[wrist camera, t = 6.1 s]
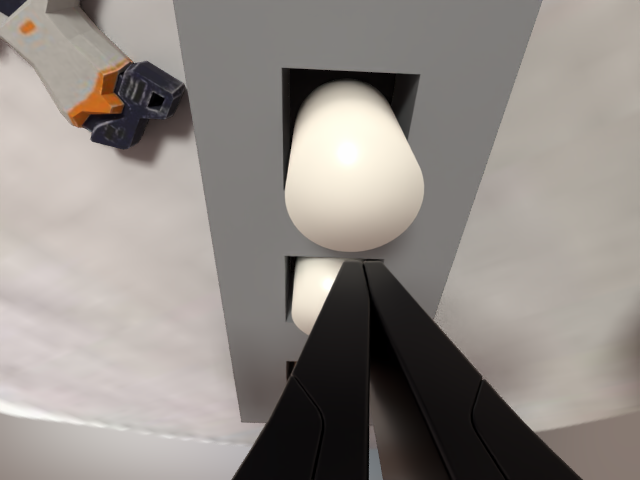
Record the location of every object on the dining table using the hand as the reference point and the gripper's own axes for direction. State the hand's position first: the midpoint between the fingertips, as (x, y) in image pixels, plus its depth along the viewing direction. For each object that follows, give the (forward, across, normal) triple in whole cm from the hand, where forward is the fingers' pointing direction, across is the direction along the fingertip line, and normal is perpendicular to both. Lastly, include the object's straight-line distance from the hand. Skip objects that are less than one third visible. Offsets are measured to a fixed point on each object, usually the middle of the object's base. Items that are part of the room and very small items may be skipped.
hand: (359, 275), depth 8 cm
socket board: (+11, 0, +8) cm, 13 cm away
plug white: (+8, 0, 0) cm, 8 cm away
